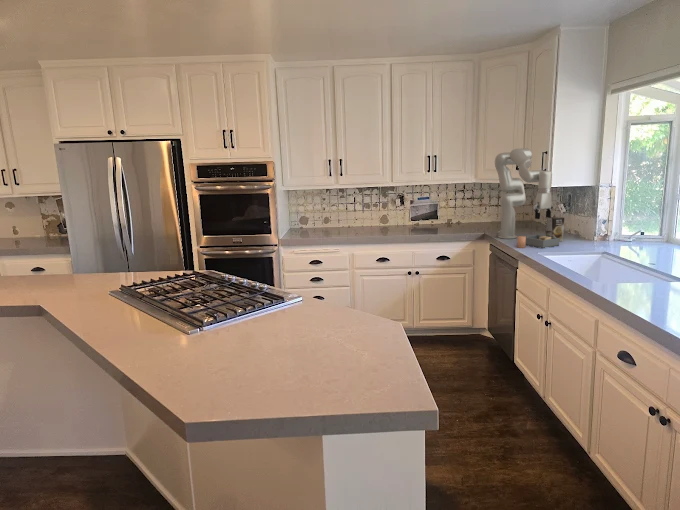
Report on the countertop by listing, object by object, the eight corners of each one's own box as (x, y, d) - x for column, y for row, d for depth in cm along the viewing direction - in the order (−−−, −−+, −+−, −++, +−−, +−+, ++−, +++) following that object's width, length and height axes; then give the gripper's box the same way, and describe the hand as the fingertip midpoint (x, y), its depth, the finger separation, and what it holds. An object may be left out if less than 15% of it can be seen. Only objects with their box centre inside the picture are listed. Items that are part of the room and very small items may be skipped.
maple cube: (538, 244, 291) (539, 236, 290) (544, 243, 293) (545, 236, 292) (544, 245, 286) (545, 238, 285) (550, 244, 288) (551, 237, 287)
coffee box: (551, 242, 300) (553, 218, 296) (545, 240, 306) (546, 217, 303) (563, 241, 302) (565, 217, 299) (556, 239, 308) (558, 216, 305)
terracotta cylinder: (515, 247, 289) (515, 236, 288) (521, 246, 291) (521, 235, 290) (521, 248, 285) (521, 237, 284) (527, 247, 287) (527, 236, 286)
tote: (520, 244, 299) (521, 236, 297) (536, 241, 304) (536, 234, 303) (543, 248, 282) (543, 240, 281) (558, 246, 288) (559, 238, 287)
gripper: (549, 189, 289) (547, 216, 293) (529, 191, 282) (528, 218, 285) (559, 190, 282) (557, 217, 286) (539, 192, 275) (538, 219, 279)
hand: (542, 218), depth 286 cm, fingers open, 9 cm apart
